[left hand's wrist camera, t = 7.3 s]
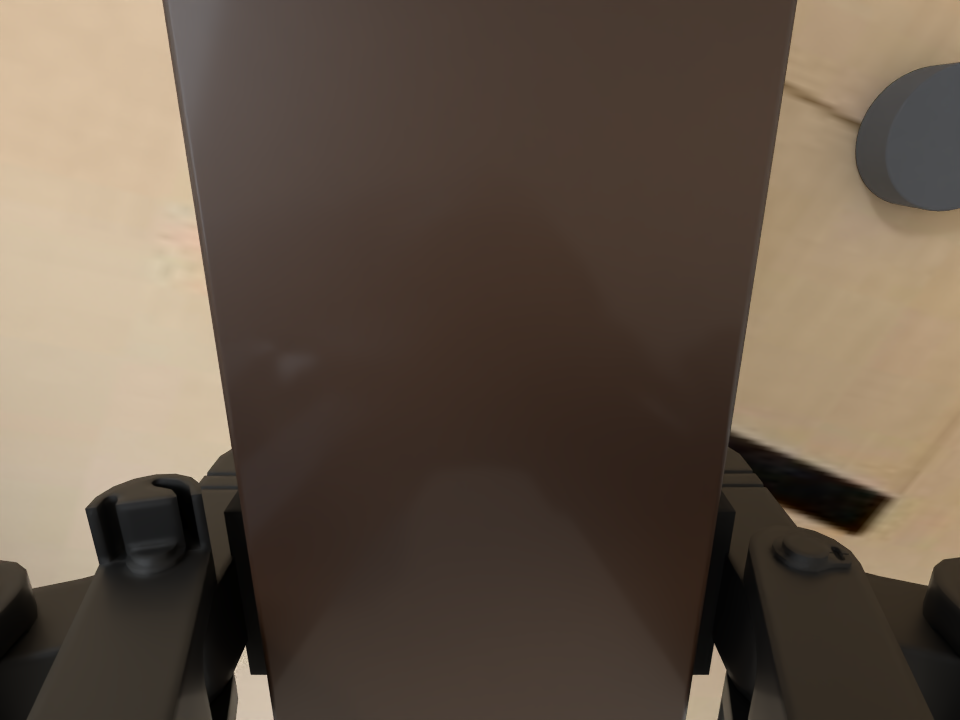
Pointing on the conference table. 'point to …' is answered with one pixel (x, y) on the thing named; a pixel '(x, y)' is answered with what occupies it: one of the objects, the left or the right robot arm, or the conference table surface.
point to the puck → (914, 140)
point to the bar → (479, 334)
